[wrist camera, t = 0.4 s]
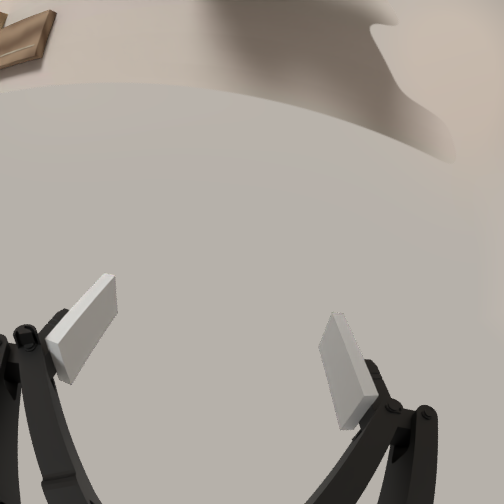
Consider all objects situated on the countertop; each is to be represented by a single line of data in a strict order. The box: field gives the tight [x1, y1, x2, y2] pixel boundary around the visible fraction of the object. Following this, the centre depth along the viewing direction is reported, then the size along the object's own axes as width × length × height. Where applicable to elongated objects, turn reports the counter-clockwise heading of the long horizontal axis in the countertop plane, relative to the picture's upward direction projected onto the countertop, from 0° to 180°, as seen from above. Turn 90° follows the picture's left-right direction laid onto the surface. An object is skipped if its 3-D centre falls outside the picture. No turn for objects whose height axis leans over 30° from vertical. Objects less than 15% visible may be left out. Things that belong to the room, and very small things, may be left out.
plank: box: [0, 10, 56, 69], centre depth 27 cm, size 10×28×2 cm, turn 79°
